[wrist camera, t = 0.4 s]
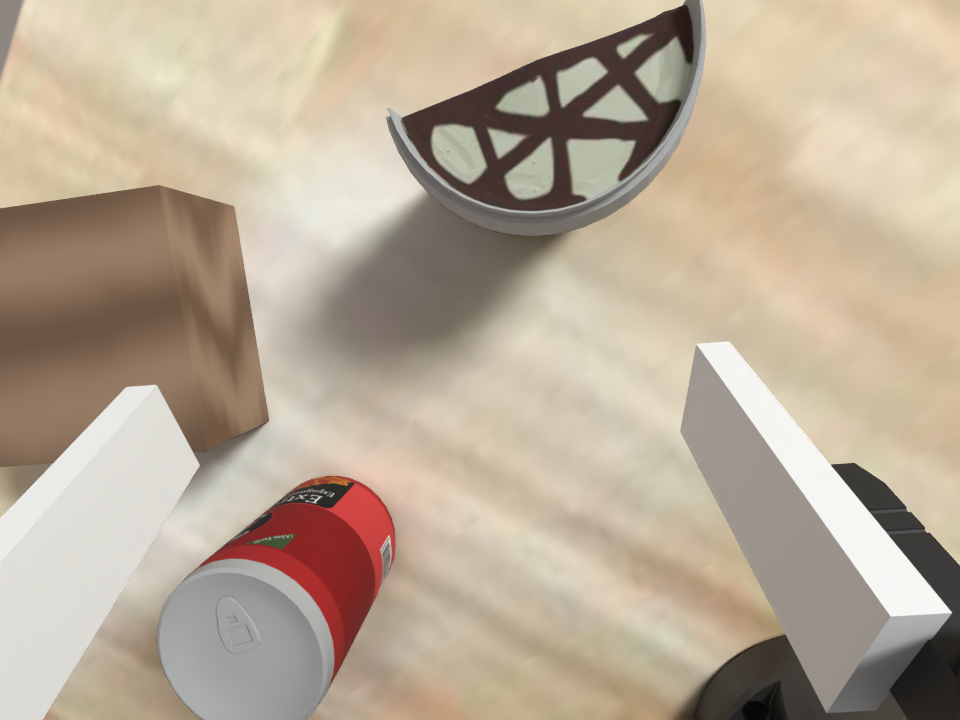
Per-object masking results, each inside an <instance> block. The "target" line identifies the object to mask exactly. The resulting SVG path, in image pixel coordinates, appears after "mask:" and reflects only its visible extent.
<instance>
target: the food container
mask: <svg viewBox="0 0 960 720" xmlns="http://www.w3.org/2000/svg"><path fill="white" fill-rule="evenodd" d="M705 50H706V28H705V14H704V8H703V2H702V0H686V1H685V2H684V4H683V5H682V6H681V7H678V8H676V9H673V10H669V11H665V12H663V13H661V14H660V15H658V16H656V17H654V18H652V19H650V20H647V21H645V22H643V23H641V24H638V25H635V26H633V27H630V28H628V29H625V30H622V31H620V32H617V33H614V34H612V35H609V36H606V37H604V38H601V39H598V40H595V41H592V42H590V43H587V44H584V45H581V46H578V47H575V48H571V49H568V50H565V51H562V52H559V53H556V54H553V55H550V56H548V57H545V58H542V59H539V60H536V61H534V62H532V63H530V64H527V65H525V66H523V67H521V68H519V69H516V70H514V71H512V72H510V73H508V74H506V75H504V76H502V77H500V78H497V79H495V80H493V81H491V82H488V83H486V84H484V85H482V86H479V87H477V88H475V89H473V90H470V91H468V92H465V93H463V94H460V95H458V96H455V97H453V98H450V99H448V100H445V101H443V102H440V103H438V104H435V105H433V106H430V107H428V108H425V109H423V110H420V111H418V112H415V113H413V114H410V115H408V116H405V117H403V118H401V117H400V116H399V115H398V114H396V113H395V112H394V111H393V110H392V109H390V108H388V111H389V114H390V116H388V117H386V119H387V123H388V127H389V131H390V133H391V136H392V138H393V140H394V143H395V145H396V147H397V150H398V152H399V154H400V155H401V157H402V159H403V160H404V162H405V164H406V165H407V167H408V169H409V170H410V172H411V173H412V175H413V176H414V177H415V178H416V179H417V181H418V182H419V183H420V184H421V185H422V187H423V188H424V189H425V190H426V191H427V192H428V193H429V194H430V195H431V196H432V197H433V198H435V199H436V200H437V201H438V202H439V203H440V204H442V205H443V206H444V207H445V208H446V209H448V210H450V211H451V212H453V213H455V214H456V215H458V216H460V217H461V218H463V219H464V220H466V221H469V222H471V223H474V224H476V225H478V226H481V227H483V228H486V229H489V230H493V231H497V232H502V233H506V234H510V235H525V236H541V235H551V234H560V233H564V232H567V231H571V230H575V229H579V228H583V227H585V226H587V225H590V224H592V223H594V222H596V221H599V220H601V219H603V218H606V217H607V216H609V215H610V214H612V213H614V212H615V211H617V210H618V209H620V208H621V207H623V206H625V205H626V204H628V203H629V202H630V201H631V200H632V199H633V198H635V197H636V196H637V195H638V194H639V193H640V192H642V191H643V190H644V189H645V188H646V187H647V186H648V185H649V184H650V183H651V182H652V180H653V179H654V178H655V177H656V176H657V175H658V173H659V172H660V171H661V170H662V169H663V168H664V166H665V165H666V163H667V162H668V160H669V159H670V157H671V155H672V154H673V152H674V151H675V149H676V148H677V146H678V144H679V143H680V140H681V138H682V136H683V134H684V131H685V129H686V127H687V125H688V122H689V120H690V118H691V114H692V111H693V107H694V103H695V100H696V96H697V93H698V89H699V85H700V82H701V78H702V74H703V66H704V58H705Z"/></svg>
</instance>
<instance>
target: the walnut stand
mask: <svg viewBox="0 0 960 720" xmlns="http://www.w3.org/2000/svg"><path fill="white" fill-rule="evenodd" d="M146 385H157V386H158V388H159V390H160V392H161V394H162V395H163V397H164V399H165V401H166V403H167V405H168V407H169V409H170V410H171V412H172V414H173V416H174V418H175V420H176V422H177V423H178V425H179V427H180V429H181V431H182V433H183V435H184V436H185V438H186V440H187V442H188V444H189V446H190V448H191V449H192V451H193V452H203V451H209V450H211V449H213V448H215V447H217V446H219V445H221V444H223V443H225V442H227V441H229V440H231V439H233V438H235V437H237V436H239V435H241V434H243V433H245V432H247V431H249V430H251V429H253V428H255V427H257V426H260V425H262V424H264V423H266V422H268V421H269V417H268V411H267V405H266V399H265V393H264V387H263V381H262V374H261V368H260V362H259V356H258V350H257V344H256V338H255V332H254V326H253V319H252V313H251V307H250V301H249V295H248V289H247V283H246V277H245V270H244V264H243V258H242V252H241V246H240V240H239V234H238V228H237V222H236V215H235V209H234V206H231V205H228V204H224V203H221V202H217V201H214V200H210V199H206V198H203V197H199V196H196V195H192V194H189V193H185V192H181V191H178V190H174V189H171V188H167V187H163V186H160V185H158V186H151V187H144V188H137V189H130V190H123V191H117V192H110V193H103V194H96V195H89V196H82V197H76V198H69V199H62V200H55V201H48V202H41V203H35V204H28V205H21V206H14V207H7V208H1V209H0V467H5V466H18V465H31V464H44V463H54V462H55V461H56V460H57V459H58V458H59V457H60V456H61V455H62V454H63V453H64V452H65V450H66V449H67V448H68V447H69V446H70V445H71V444H72V443H73V442H74V441H75V440H76V439H77V438H78V437H79V436H80V435H81V434H82V433H83V432H84V431H85V430H86V429H87V428H88V426H89V425H90V424H91V423H92V422H93V421H94V420H95V419H96V418H97V417H98V416H99V415H100V414H101V413H102V412H103V411H104V410H105V409H106V408H107V407H108V406H109V405H110V404H111V402H112V401H113V400H114V399H115V398H116V397H117V396H118V395H119V394H120V393H121V392H122V391H123V390H124V389H125V388H126V387H133V386H146Z"/></svg>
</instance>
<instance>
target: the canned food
mask: <svg viewBox="0 0 960 720" xmlns="http://www.w3.org/2000/svg"><path fill="white" fill-rule="evenodd" d="M394 554H395V530H394V525H393V522H392V518H391V516H390V514H389V512H388V510H387V508H386V506H385V505H384V503H383V502H382V501H381V499H380V498H379V497H378V496H377V495H376V494H375V493H374V492H373V491H372V490H371V489H369V488H368V487H366V486H365V485H363V484H362V483H360V482H358V481H355V480H353V479H351V478H346V477H341V476H326V477H320V478H315V479H311V480H308V481H306V482H304V483H302V484H300V485H299V486H297V487H296V488H295V489H293V490H292V491H291V492H289V493H288V494H287V495H286V496H284V497H283V498H282V499H281V500H280V501H278V502H277V503H276V504H275V505H273V506H272V507H271V508H270V509H268V510H267V511H266V512H265V513H263V514H262V515H261V516H260V517H259V518H257V519H256V520H255V521H254V522H252V523H251V524H250V525H249V526H247V527H246V528H245V529H244V530H243V531H241V532H240V533H239V534H238V535H236V536H235V537H234V538H233V539H231V540H230V541H229V542H228V543H226V544H225V545H224V546H223V547H222V548H220V549H219V550H218V551H217V552H215V553H214V554H213V555H212V556H210V557H209V558H208V559H207V560H206V561H204V562H203V563H202V564H201V565H200V566H199V567H198V568H197V569H195V570H194V571H193V572H192V573H190V574H189V575H188V576H187V577H186V578H185V579H184V580H183V582H182V583H181V584H180V585H178V587H177V588H176V589H175V590H174V591H173V592H172V594H171V595H170V596H169V597H168V599H167V601H166V603H165V605H164V607H163V609H162V611H161V615H160V619H159V623H158V633H157V645H158V651H159V658H160V661H161V664H162V667H163V670H164V673H165V675H166V677H167V679H168V681H169V683H170V685H171V687H172V688H173V690H174V691H175V693H176V694H177V695H178V697H179V698H180V699H181V701H182V702H183V703H184V704H185V705H186V706H187V707H188V708H189V709H190V710H191V711H192V712H193V713H194V714H195V715H196V716H198V717H199V718H201V719H202V720H307V719H308V718H309V717H310V716H311V714H312V713H313V712H314V711H315V709H316V707H317V706H318V705H319V704H320V702H321V701H322V699H323V697H324V696H325V694H326V692H327V691H328V689H329V687H330V685H331V683H332V681H333V679H334V677H335V676H336V674H337V672H338V671H339V669H340V667H341V665H342V663H343V661H344V659H345V657H346V655H347V653H348V651H349V649H350V647H351V645H352V643H353V641H354V639H355V637H356V635H357V633H358V631H359V629H360V628H361V626H362V624H363V622H364V620H365V618H366V616H367V614H368V612H369V610H370V608H371V606H372V604H373V602H374V600H375V598H376V596H377V594H378V592H379V590H380V588H381V586H382V584H383V582H384V580H385V578H386V576H387V575H388V573H389V571H390V568H391V565H392V562H393V560H394Z"/></svg>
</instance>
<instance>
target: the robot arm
mask: <svg viewBox="0 0 960 720" xmlns="http://www.w3.org/2000/svg"><path fill="white" fill-rule="evenodd" d="M680 432H681V434H682V436H683V438H684V439H685V441H686V443H687V445H688V447H689V449H690V451H691V453H692V455H693V457H694V459H695V461H696V463H697V465H698V466H699V468H700V470H701V472H702V474H703V476H704V478H705V480H706V482H707V484H708V486H709V488H710V490H711V492H712V493H713V495H714V497H715V499H716V501H717V503H718V505H719V507H720V509H721V511H722V513H723V515H724V517H725V519H726V520H727V522H728V524H729V526H730V528H731V530H732V532H733V534H734V536H735V538H736V540H737V542H738V544H739V546H740V547H741V549H742V551H743V553H744V555H745V557H746V559H747V561H748V563H749V565H750V567H751V569H752V571H753V573H754V574H755V576H756V578H757V580H758V582H759V584H760V586H761V588H762V590H763V592H764V594H765V596H766V598H767V599H768V601H769V603H770V605H771V607H772V609H773V611H774V613H775V615H776V617H777V619H778V621H779V623H780V625H781V626H782V628H783V630H784V632H785V634H786V635H785V636H781V637H778V638H775V639H772V640H769V641H766V642H764V643H761V644H759V645H757V646H755V647H753V648H751V649H749V650H748V651H746V652H744V653H742V654H741V655H740V656H738V657H737V658H735V659H734V660H733V661H731V662H730V663H729V664H728V665H727V666H725V667H724V668H723V669H722V670H721V671H720V672H719V673H718V674H717V676H716V677H715V678H714V679H713V680H712V682H711V683H710V684H709V686H708V687H707V689H706V690H705V692H704V694H703V696H702V697H701V699H700V702H699V704H698V706H697V709H696V712H695V715H694V719H693V720H960V565H959V564H958V563H957V562H956V561H955V560H954V559H953V558H952V557H951V556H950V554H949V553H948V552H947V551H946V550H945V549H944V548H943V547H942V546H941V545H940V543H939V542H938V541H937V540H936V539H935V538H934V537H933V536H932V535H931V534H930V533H927V532H926V531H925V527H924V526H923V525H922V524H921V523H920V521H919V520H918V519H917V518H916V517H915V516H914V515H913V514H912V513H911V512H907V510H906V506H905V505H904V504H903V503H902V502H901V501H900V499H899V498H898V497H897V496H896V495H895V494H894V493H893V492H892V491H891V490H890V488H889V487H888V486H887V485H886V484H885V483H884V482H882V481H881V480H879V479H878V478H876V477H875V476H873V475H872V474H870V473H869V472H867V471H866V470H864V469H863V468H861V467H860V466H858V465H857V464H855V463H847V464H832V465H830V464H829V462H828V461H827V460H826V459H825V458H824V456H823V455H822V454H821V453H820V452H819V450H818V449H817V448H816V447H815V445H814V444H813V443H812V442H811V441H810V439H809V438H808V437H807V436H806V434H805V433H804V432H803V431H802V430H801V428H800V427H799V426H798V425H797V424H796V422H795V421H794V420H793V419H792V417H791V416H790V415H789V414H788V413H787V411H786V410H785V409H784V408H783V407H782V405H781V404H780V403H779V402H778V400H777V399H776V398H775V397H774V396H773V394H772V393H771V392H770V391H769V389H768V388H767V387H766V386H765V385H764V383H763V382H762V381H761V380H760V379H759V377H758V376H757V375H756V374H755V372H754V371H753V370H752V369H751V368H750V366H749V365H748V364H747V363H746V362H745V360H744V359H743V358H742V357H741V355H740V354H739V353H738V352H737V351H736V349H735V348H734V347H733V346H732V345H731V343H730V342H716V343H703V344H696V349H695V354H694V360H693V365H692V371H691V376H690V382H689V387H688V392H687V398H686V403H685V409H684V414H683V420H682V425H681V431H680ZM199 466H200V464H199V462H198V461H197V459H196V457H195V455H194V453H193V451H192V449H191V448H190V446H189V444H188V442H187V440H186V438H185V436H184V435H183V433H182V431H181V429H180V427H179V425H178V423H177V422H176V420H175V418H174V416H173V414H172V412H171V410H170V409H169V407H168V405H167V403H166V401H165V399H164V397H163V395H162V394H161V392H160V390H159V388H158V386H157V385H146V386H133V387H126V388H125V389H124V390H123V391H122V392H121V393H120V394H119V395H118V396H117V397H116V398H115V399H114V400H113V401H112V402H111V404H110V405H109V406H108V407H107V408H106V409H105V410H104V411H103V412H102V413H101V414H100V415H99V416H98V417H97V418H96V419H95V420H94V421H93V422H92V423H91V424H90V425H89V426H88V428H87V429H86V430H85V431H84V432H83V433H82V434H81V435H80V436H79V437H78V438H77V439H76V440H75V441H74V442H73V443H72V444H71V445H70V446H69V447H68V448H67V449H66V450H65V452H64V453H63V454H62V455H61V456H60V457H59V458H58V459H57V460H56V461H55V462H54V463H53V464H52V465H51V466H50V467H49V468H48V469H47V470H46V471H45V472H44V473H43V474H42V476H41V477H40V478H39V479H38V480H37V481H36V482H35V483H34V484H33V485H32V486H31V487H30V488H29V489H28V490H27V491H26V492H25V493H24V494H23V495H22V496H21V497H20V498H19V500H18V501H17V502H16V503H15V504H14V505H13V506H12V507H11V508H10V509H9V510H8V511H7V512H6V513H5V514H4V515H3V516H2V517H1V518H0V720H43V718H44V716H45V715H46V713H47V712H48V710H49V708H50V707H51V705H52V703H53V702H54V700H55V699H56V697H57V695H58V694H59V692H60V691H61V689H62V687H63V686H64V684H65V682H66V681H67V679H68V678H69V676H70V674H71V673H72V671H73V670H74V668H75V666H76V665H77V663H78V661H79V660H80V658H81V657H82V655H83V653H84V652H85V650H86V649H87V647H88V645H89V644H90V642H91V640H92V639H93V637H94V636H95V634H96V632H97V631H98V629H99V628H100V626H101V624H102V623H103V621H104V619H105V618H106V616H107V615H108V613H109V611H110V610H111V608H112V607H113V605H114V603H115V602H116V600H117V598H118V597H119V595H120V594H121V592H122V590H123V589H124V587H125V586H126V584H127V582H128V581H129V579H130V577H131V576H132V574H133V573H134V571H135V569H136V568H137V566H138V564H139V563H140V561H141V560H142V558H143V556H144V555H145V553H146V552H147V550H148V548H149V547H150V545H151V543H152V542H153V540H154V539H155V537H156V535H157V534H158V532H159V531H160V529H161V527H162V526H163V524H164V522H165V521H166V519H167V518H168V516H169V514H170V513H171V511H172V510H173V508H174V506H175V505H176V503H177V501H178V500H179V498H180V497H181V495H182V493H183V492H184V490H185V489H186V487H187V485H188V484H189V482H190V480H191V479H192V477H193V476H194V474H195V472H196V471H197V469H198V468H199Z"/></svg>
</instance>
